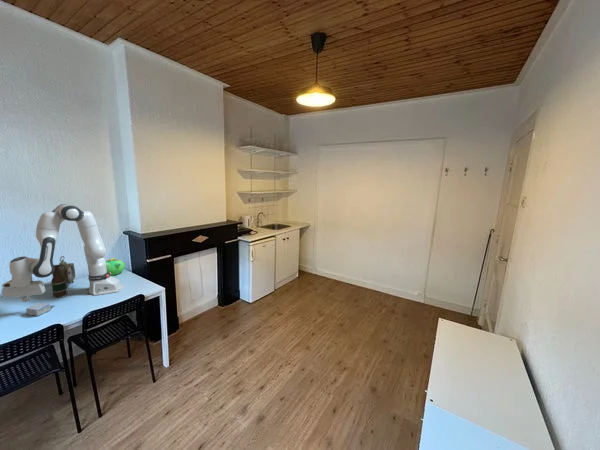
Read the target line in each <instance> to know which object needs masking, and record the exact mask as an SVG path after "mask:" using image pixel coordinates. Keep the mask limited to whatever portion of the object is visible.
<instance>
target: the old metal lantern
mask: <svg viewBox="0 0 600 450" xmlns="http://www.w3.org/2000/svg"><path fill="white" fill-rule="evenodd" d="M62 258H63V259H62ZM58 265H59V269H60V273H61V275H62V276H64V278H65V281H66V287H67V289H69V286H68V284H71V283H73V284H74V283H75V281H74V280H75V278H76V268H75V265H74V263H73V262H69V263H68V262H67V261H65V256H64V255H63V256H60V257H59V263H58ZM51 275H52V278H53V277H54V272H53V273H52V274H51Z"/></svg>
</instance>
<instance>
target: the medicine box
mask: <svg viewBox="0 0 600 450" xmlns="http://www.w3.org/2000/svg"><path fill="white" fill-rule="evenodd" d="M50 306H51V304H50V303H46V302H45V303H44V302H38V303H36V304H34V305H30V306H28V307H26V308H25V310H26V314H27V315H31V316H35V317H36V316H40V315H43V314H46V313H45V312H47V311H48V312H49V311H51V310H52V309H51V308H50ZM48 312H47V313H48Z"/></svg>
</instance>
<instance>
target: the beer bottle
mask: <svg viewBox="0 0 600 450" xmlns="http://www.w3.org/2000/svg"><path fill="white" fill-rule="evenodd" d="M53 265H54V267H55V270H54V277H53V276H52V278H51V282H50V283H51V287H52V294H53V297H54V298H55V299H56V298H63V297H65V296H67V294H68V288H67V287H66V284H67V283H66V281H65V278H64V276H62V275H61V273H60V269H59V264H53Z"/></svg>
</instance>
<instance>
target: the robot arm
mask: <svg viewBox="0 0 600 450" xmlns="http://www.w3.org/2000/svg"><path fill="white" fill-rule="evenodd" d="M63 221H69V222H75V223H76V224H77V225H76V226H77V228H78V231H79V235H80V238H81V240H82V242H83V244H84V245H83V251H84V256H85V260H86V264H87V270H88V282H89V290H88V294H90V295H92V296H95V297H96V296H101V295H108V294H114V293H119V292H120V291H122V290H123V289H124V287H125V285H124V283H121V282H120V280H119V279H118V278H116V277H114V276H113V275H110V274H111V272H110V273H108V272H107V268H106V262H105V261H106V259H105V257H106V256H107V249H106V246H105V243H104V241H103V238H102V236H101V234H100V230H99V227H98V223H97V221H96V218H95V216H94V215H93V212H91V211H89V210H88V211H87V210H81V208H79V207H78V206H75V205H73V204H70V203H69V204H68V203H62V204H59V205H57V206H56V207H55V208H54V209H53V210H52V211H46V212H45V211H44V212H43V213H42V214H41V215H40V216H39V219H38V222H37V225H36V229H35V237H36V240H37V241H38V243H39V245H40V254H39V258H33V257H27V256H17V257H15V258H12V259H11V260H10V261H9V274H10V275H11V279H10V280H8V281H6V282H4V283H2V284H1V287H2V288H1V295H2V297H4V298H13V297H14V298H15V297H18V298H19V299H20V300H21V302H22V303H24V302H25V303H26V302H29V301H31V300H30V298H31V297H32V296H37V295H43V294H44V293H45V292H46V287H45V285H44V282H43V281H42V280H33V277H32V275H34V277H36V278H40V279H41V278H47V277H50V276H51V275H52V273H53V272H54V270H55V267H54V265H55V264H54V260H53V259H54V255H55V254H54V253H55V249H56V243H57V239H58V235H59V232H60V228H61V224H62V223H63ZM25 296H26V297H25Z"/></svg>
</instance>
